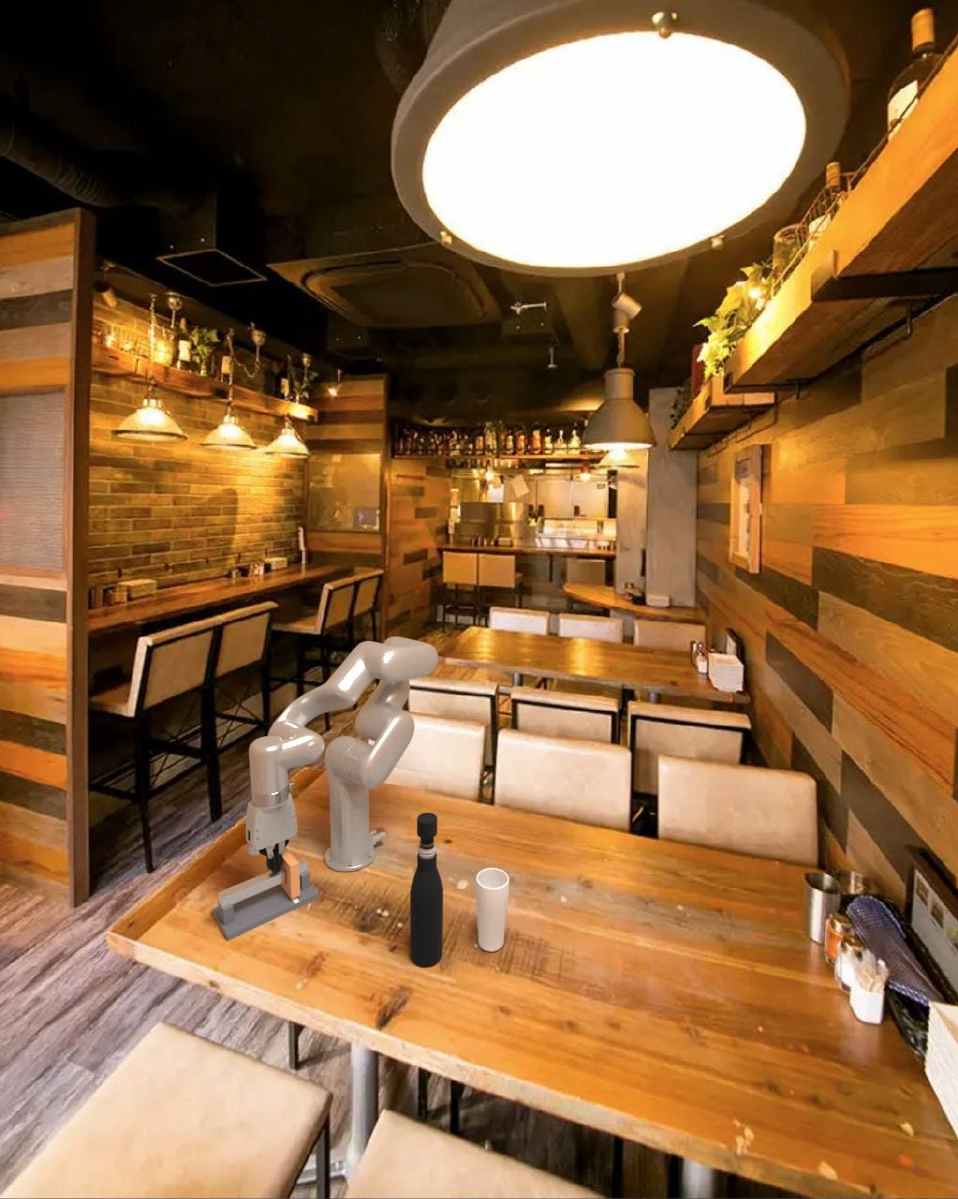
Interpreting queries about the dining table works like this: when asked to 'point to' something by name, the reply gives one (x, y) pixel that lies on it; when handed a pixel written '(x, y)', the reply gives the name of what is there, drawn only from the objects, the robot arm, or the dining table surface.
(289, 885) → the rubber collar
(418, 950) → the black bottle
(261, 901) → the pipe board
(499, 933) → the drinking glass
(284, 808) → the robot arm
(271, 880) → the grey long bar
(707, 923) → the dining table surface
